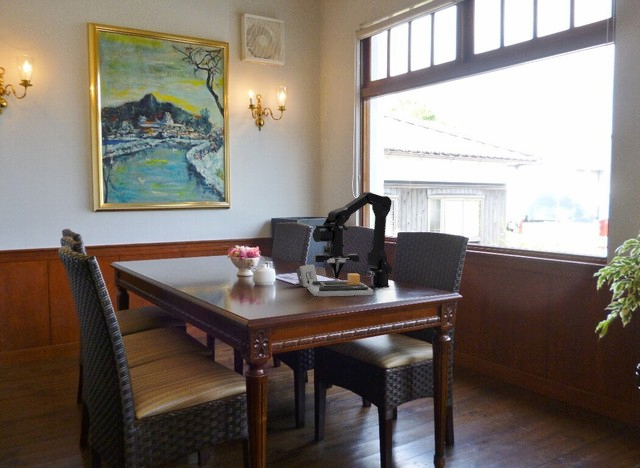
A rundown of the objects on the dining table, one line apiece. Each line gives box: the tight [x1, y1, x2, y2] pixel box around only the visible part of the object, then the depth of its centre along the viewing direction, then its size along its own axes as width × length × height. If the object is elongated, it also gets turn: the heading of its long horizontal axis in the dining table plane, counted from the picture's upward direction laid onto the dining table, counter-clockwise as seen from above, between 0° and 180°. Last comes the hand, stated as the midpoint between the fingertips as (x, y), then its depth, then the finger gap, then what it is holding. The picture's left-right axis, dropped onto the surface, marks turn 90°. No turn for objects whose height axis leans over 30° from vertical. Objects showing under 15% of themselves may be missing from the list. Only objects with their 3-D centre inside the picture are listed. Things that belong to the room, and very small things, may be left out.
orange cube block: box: [347, 273, 361, 285], centre depth 235 cm, size 4×5×5 cm
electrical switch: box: [295, 264, 319, 288], centre depth 249 cm, size 9×5×9 cm, turn 141°
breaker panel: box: [307, 279, 374, 297], centre depth 234 cm, size 24×18×4 cm
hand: (336, 278), depth 234 cm, fingers closed
